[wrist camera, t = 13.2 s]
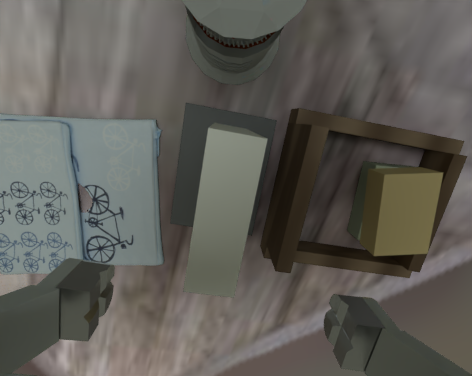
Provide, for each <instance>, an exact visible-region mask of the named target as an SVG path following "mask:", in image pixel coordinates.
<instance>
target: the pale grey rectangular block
mask: <svg viewBox="0 0 472 376" xmlns="http://www.w3.org/2000/svg"><path fill="white" fill-rule="evenodd" d="M267 140H268V139H267V138H265V137H263V136H261V135H258V134H256V133H254V132H252V131H250V130H248V129H246V128H240V127H235V126H230V125H224V124H219V123H214V124H212V125H211V126H210V127H209V128H208V133H207V140H206V146H205V153H204V159H203V166H202V172H201V179H200V185H199V192H198V198H197V205H196V211H195V218H194V224H193V231H192V237H191V244H190V251H189V257H188V264H187V270H186V277H185V283H184V290H183V292H190V293H198V294H206V295H214V296H223V297H231V298H234V295H235V291H236V286H237V281H238V276H239V272H240V267H241V262H242V258H243V253H244V248H245V243H246V239H247V234H248V229H249V225H250V220H251V215H252V210H253V206H254V201H255V196H256V192H257V187H258V182H259V177H260V173H261V168H262V163H263V159H264V154H265V149H266V144H267Z"/></svg>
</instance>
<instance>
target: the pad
mask: <svg viewBox="0 0 472 376" xmlns="http://www.w3.org/2000/svg"><path fill="white" fill-rule="evenodd" d="M276 122H277V120H272V119H267V118H262V117H257V116H252V115H247V114H241V113H236V112H231V111H226V110H221V109H216V108H210V107H205V106H200V105H195V104H190V103H186V106H185V114H184V122H183V129H182V137H181V145H180V153H179V160H178V168H177V176H176V184H175V191H174V199H173V207H172V215H171V222H170V223H171V224H178V225H184V226H191V227H193V224H194V218H195V211H196V205H197V198H198V192H199V185H200V179H201V172H202V166H203V159H204V153H205V146H206V140H207V133H208V128H209V127H210V126H211V125H212V124H214V123H219V124H224V125H230V126H235V127H240V128H246V129H248V130H250V131H252V132H254V133H256V134H258V135H261V136H263V137H265V138H267V139H268V140H267V144H266V149H265V154H264V159H263V163H262V168H261V173H260V177H259V182H258V187H257V192H256V196H255V201H254V206H253V210H252V215H251V220H250V225H249V229H248V234H247V235H252V232H253V227H254V223H255V218H256V214H257V209H258V204H259V200H260V195H261V191H262V186H263V181H264V177H265V172H266V168H267V163H268V158H269V154H270V149H271V145H272V140H273V135H274V131H275V126H276Z"/></svg>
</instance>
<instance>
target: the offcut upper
mask: <svg viewBox="0 0 472 376" xmlns="http://www.w3.org/2000/svg"><path fill="white" fill-rule="evenodd" d="M442 178H443V173H442V172H438V171H435V170H431V169H427V168H423V167H409V168H376V169H368V176H367V184H366V193H365V202H364V210H363V219H362V227H361V236H360V244H361V245H362V246H363V247H364V248H365V249H367V250H368V251H369V252H370V253H371V254H372V255H373V256H388V255H410V254H428V249H429V244H430V239H431V234H432V228H433V223H434V218H435V213H436V208H437V203H438V198H439V193H440V188H441V183H442Z"/></svg>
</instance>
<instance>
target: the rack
mask: <svg viewBox="0 0 472 376" xmlns="http://www.w3.org/2000/svg"><path fill="white" fill-rule="evenodd" d="M328 131H334V132H339V133H344V134H349V135H354V136H360V137H365V138H370V139H375V140H380V141H385V142H391V143H396V144H401V145H406V146H411V147H416V148H422V149H425V152H424V155H423V157H422V160H421V163H420V166H419V167H423V168H427V169H431V170H435V171H438V172H442V173H443V178H442V183H441V188H440V193H439V198H438V203H437V208H436V213H435V218H434V223H433V228H432V234H431V239H430V244H429V248H430V246H431V243H432V241H433V238H434V236H435V233H436V231H437V229H438V226H439V224H440V221H441V219H442V216H443V214H444V212H445V209H446V207H447V204H448V202H449V199H450V197H451V195H452V192H453V190H454V187H455V185H456V182H457V180H458V178H459V175H460V173H461V170H462V168H463V165H464V163H465V161H466V158H467V156H463V155H459V153H460V151H461V148H462V146H463V143H464V141H461V140H456V139H451V138H446V137H441V136H436V135H431V134H426V133H421V132H416V131H411V130H406V129H401V128H396V127H391V126H386V125H381V124H376V123H371V122H366V121H361V120H356V119H351V118H346V117H341V116H336V115H331V114H326V113H321V112H316V111H311V110H306V109H301V108H297V109H292V110H291V114H290V118H289V123H288V127H287V132H286V136H285V140H284V145H283V149H282V153H281V158H280V162H279V167H278V171H277V175H276V180H275V184H274V188H273V193H272V197H271V201H270V206H269V210H268V215H267V219H266V223H265V228H264V232H263V236H262V241H261V245H260V246H261V249H262V253H263V256H264V258H268V259H271V260H272V263H273V266H274V269H275V271H278V272H285V273H291V269H292V265H293V262H297V263H304V264H312V265H319V266H326V267H333V268H340V269H348V270H355V271H362V272H369V273H376V274H383V275H391V276H398V277H405V278H410V275H411V273H412V271H415V272H420V270H421V267H422V265H423V263H424V260H425V258H426V255H427V254H410V255H388V256H373V255H372V254H371V253H370V252H369V251H368V250H361V249H354V248H347V247H340V246H334V245H327V244H320V243H313V242H307V241H300V240H299V239H300V235H301V232H302V228H303V224H304V221H305V217H306V213H307V209H308V206H309V202H310V198H311V195H312V191H313V187H314V183H315V180H316V176H317V172H318V168H319V165H320V161H321V157H322V154H323V150H324V146H325V142H326V139H327V135H328ZM428 250H429V249H428Z"/></svg>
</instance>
